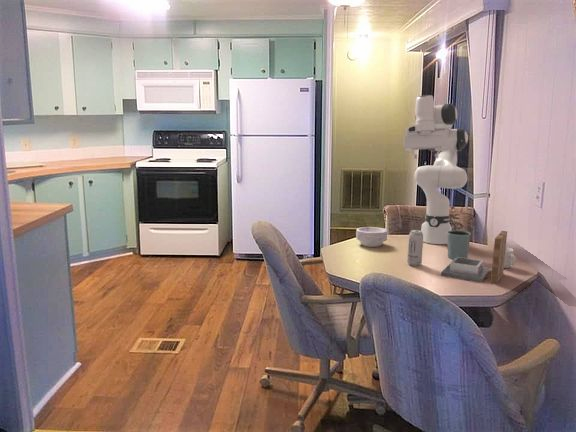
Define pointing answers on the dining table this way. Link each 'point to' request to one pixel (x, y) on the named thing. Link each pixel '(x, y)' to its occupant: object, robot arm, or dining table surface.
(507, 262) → the cup
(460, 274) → the grey fixture base
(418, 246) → the energy drink can
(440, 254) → the dining table surface
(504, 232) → the door panel
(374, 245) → the paper bowls
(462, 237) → the green tapered pot
